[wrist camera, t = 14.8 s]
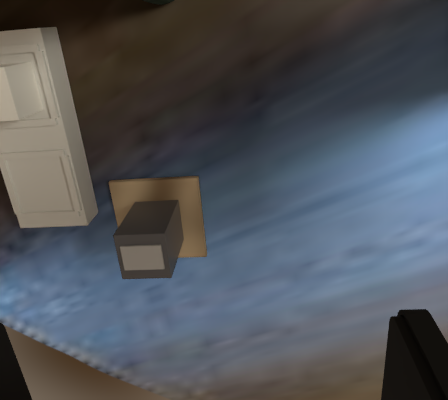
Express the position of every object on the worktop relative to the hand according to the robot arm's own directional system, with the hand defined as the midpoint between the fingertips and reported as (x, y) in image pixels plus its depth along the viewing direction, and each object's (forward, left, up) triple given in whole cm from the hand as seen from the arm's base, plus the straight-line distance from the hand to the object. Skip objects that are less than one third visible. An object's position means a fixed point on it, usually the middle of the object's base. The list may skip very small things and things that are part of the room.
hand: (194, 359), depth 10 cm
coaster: (+9, +11, -30) cm, 33 cm away
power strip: (+19, +1, -30) cm, 36 cm away
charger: (+9, +11, -30) cm, 33 cm away
